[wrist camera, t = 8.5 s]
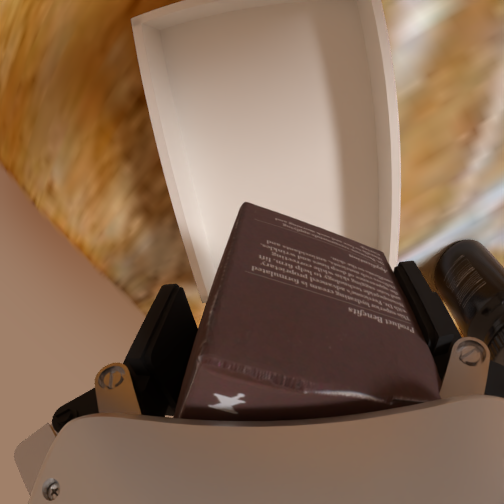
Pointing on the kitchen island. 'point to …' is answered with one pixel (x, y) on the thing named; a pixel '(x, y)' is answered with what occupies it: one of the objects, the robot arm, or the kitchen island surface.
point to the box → (303, 329)
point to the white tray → (273, 118)
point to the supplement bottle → (474, 293)
